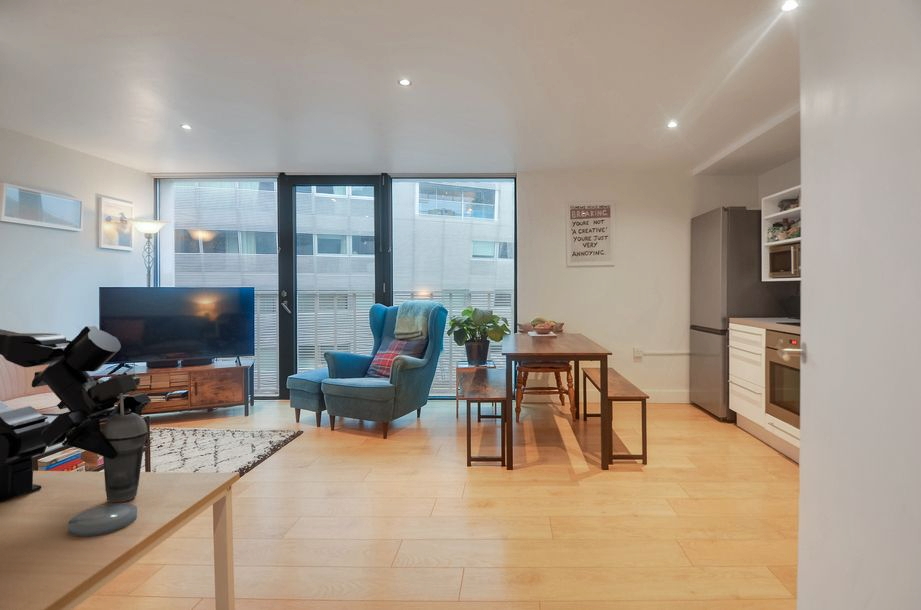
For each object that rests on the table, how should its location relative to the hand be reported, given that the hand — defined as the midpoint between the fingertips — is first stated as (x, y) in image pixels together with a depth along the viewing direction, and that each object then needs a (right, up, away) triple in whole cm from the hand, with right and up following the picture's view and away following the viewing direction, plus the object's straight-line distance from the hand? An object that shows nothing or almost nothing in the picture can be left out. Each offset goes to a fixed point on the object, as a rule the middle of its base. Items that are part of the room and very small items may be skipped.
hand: (131, 450), depth 83 cm
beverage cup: (-2, -9, 0) cm, 9 cm away
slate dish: (+2, -9, -9) cm, 13 cm away
